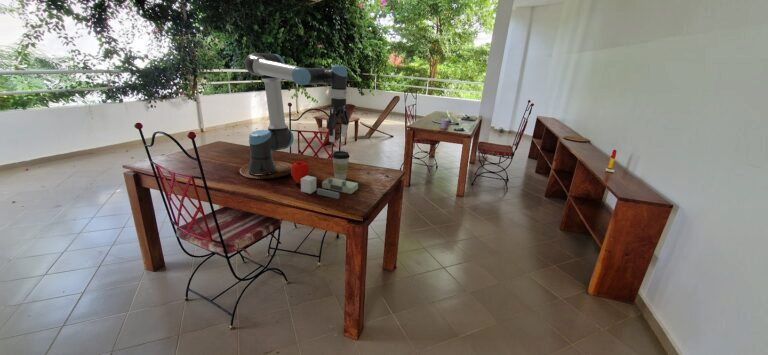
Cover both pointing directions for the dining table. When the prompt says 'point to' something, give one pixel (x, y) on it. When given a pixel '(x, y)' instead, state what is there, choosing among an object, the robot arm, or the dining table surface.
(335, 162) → the coffee cup
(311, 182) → the gray rectangular prism
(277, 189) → the dining table surface
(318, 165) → the dining table surface
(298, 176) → the apple
